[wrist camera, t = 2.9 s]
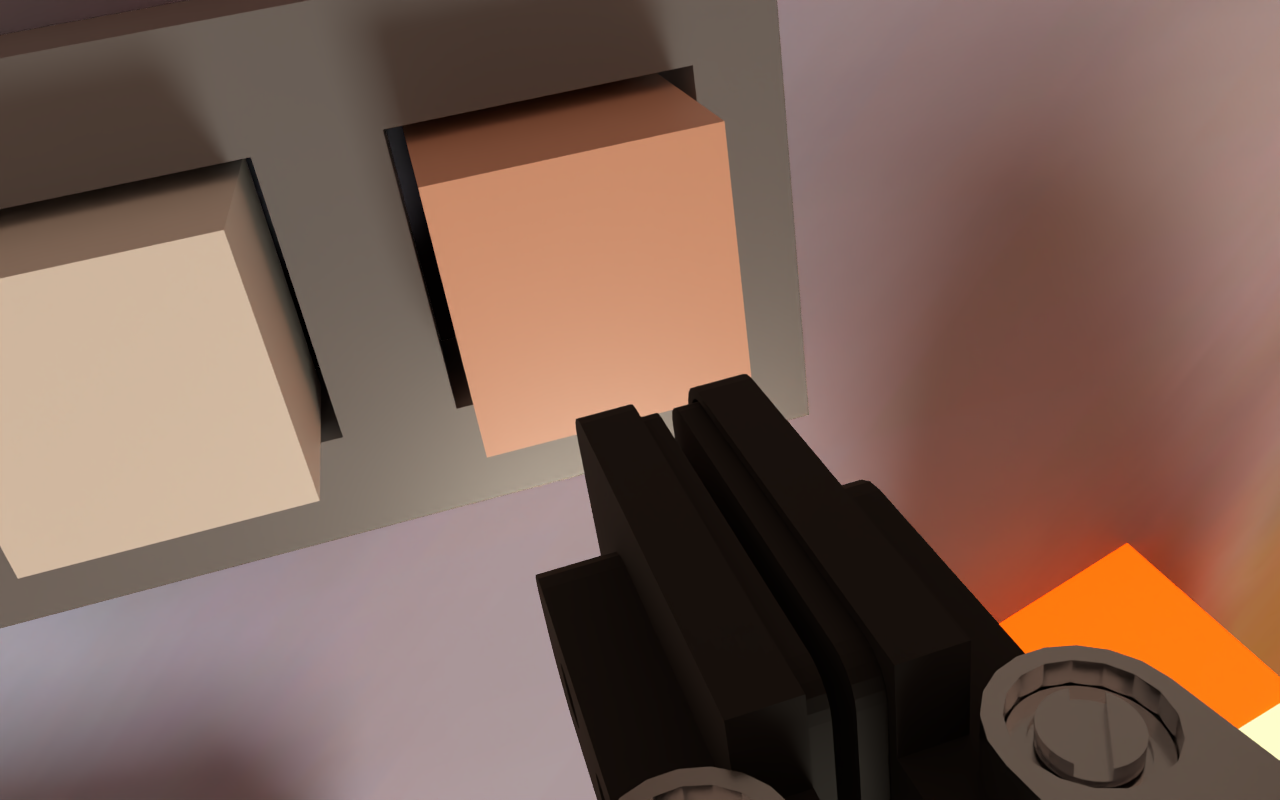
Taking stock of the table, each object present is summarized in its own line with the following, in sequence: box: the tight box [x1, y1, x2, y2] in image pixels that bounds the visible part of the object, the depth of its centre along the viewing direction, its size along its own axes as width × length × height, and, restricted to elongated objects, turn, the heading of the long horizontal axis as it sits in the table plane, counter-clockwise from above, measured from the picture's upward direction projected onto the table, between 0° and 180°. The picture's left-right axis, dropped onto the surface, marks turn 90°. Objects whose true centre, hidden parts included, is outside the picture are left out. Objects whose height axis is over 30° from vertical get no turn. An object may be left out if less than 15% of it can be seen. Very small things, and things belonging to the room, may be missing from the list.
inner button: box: [402, 73, 752, 458], centre depth 18 cm, size 4×4×4 cm
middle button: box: [0, 158, 321, 579], centre depth 17 cm, size 4×4×4 cm
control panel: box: [0, 0, 809, 628], centre depth 18 cm, size 22×9×3 cm, turn 98°
